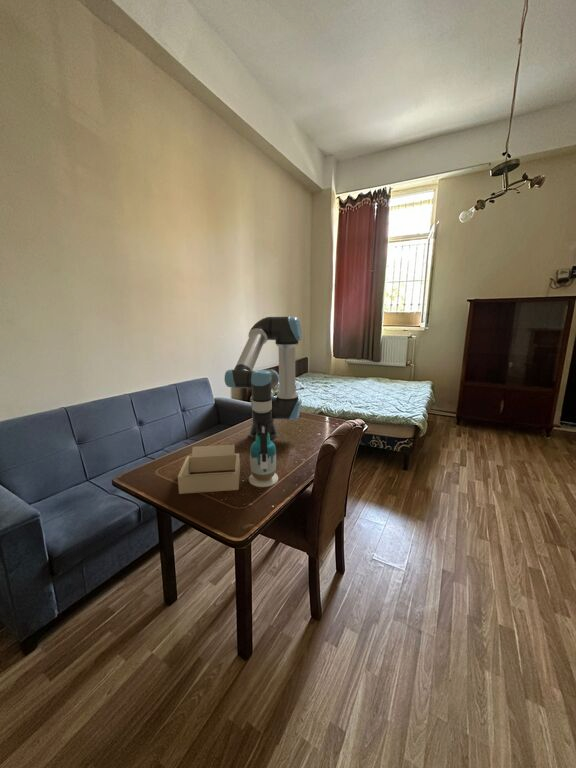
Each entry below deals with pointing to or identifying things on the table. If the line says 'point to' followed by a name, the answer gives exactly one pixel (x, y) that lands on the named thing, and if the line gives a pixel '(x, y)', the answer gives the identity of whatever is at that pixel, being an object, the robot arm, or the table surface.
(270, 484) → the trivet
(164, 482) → the table surface
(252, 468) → the vase
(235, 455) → the carton
